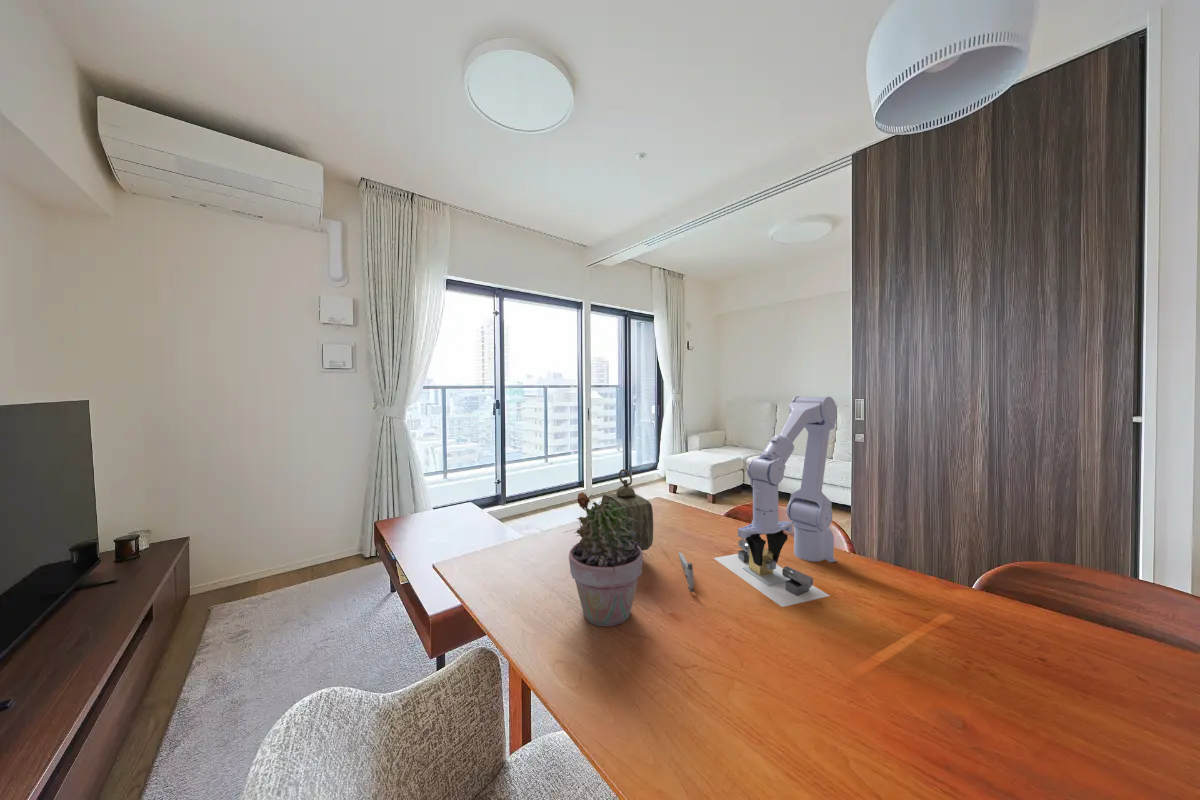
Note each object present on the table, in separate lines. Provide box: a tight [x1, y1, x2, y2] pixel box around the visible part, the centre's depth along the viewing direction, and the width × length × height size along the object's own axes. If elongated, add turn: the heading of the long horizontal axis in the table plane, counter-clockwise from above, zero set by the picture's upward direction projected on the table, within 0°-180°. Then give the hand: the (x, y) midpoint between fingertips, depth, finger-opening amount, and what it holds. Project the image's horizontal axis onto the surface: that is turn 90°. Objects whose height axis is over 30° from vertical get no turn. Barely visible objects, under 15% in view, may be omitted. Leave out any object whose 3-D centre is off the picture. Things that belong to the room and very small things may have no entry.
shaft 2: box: [782, 565, 814, 596], centre depth 90 cm, size 6×4×4 cm, turn 28°
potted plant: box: [562, 491, 656, 628], centre depth 83 cm, size 18×20×25 cm
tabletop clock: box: [601, 468, 654, 552], centre depth 109 cm, size 14×9×25 cm, turn 25°
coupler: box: [748, 547, 777, 576], centre depth 99 cm, size 4×8×5 cm, turn 18°
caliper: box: [677, 552, 694, 593], centre depth 102 cm, size 20×1×6 cm, turn 177°
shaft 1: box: [737, 538, 750, 563], centre depth 106 cm, size 6×4×4 cm, turn 8°
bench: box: [713, 553, 831, 608], centre depth 97 cm, size 13×25×1 cm, turn 18°
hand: (765, 562), depth 97 cm, fingers closed on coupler, 4 cm apart
